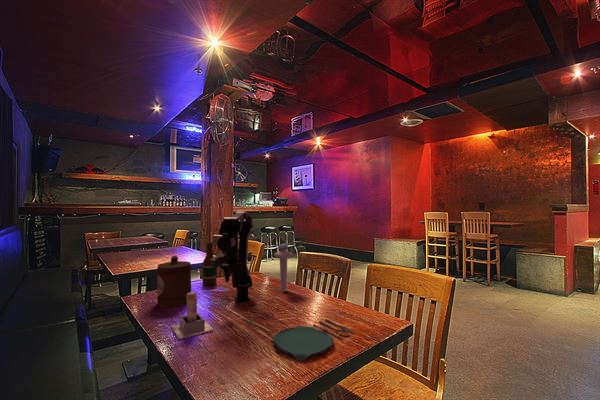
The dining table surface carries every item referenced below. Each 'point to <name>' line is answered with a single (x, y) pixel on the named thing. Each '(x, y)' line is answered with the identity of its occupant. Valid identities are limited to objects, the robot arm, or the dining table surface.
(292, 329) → the cutlery set
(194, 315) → the wooden post
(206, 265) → the beer bottle
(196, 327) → the cup bracket
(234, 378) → the dining table surface
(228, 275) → the robot arm
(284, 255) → the novelty light stick
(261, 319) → the dining table surface
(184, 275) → the wooden container
